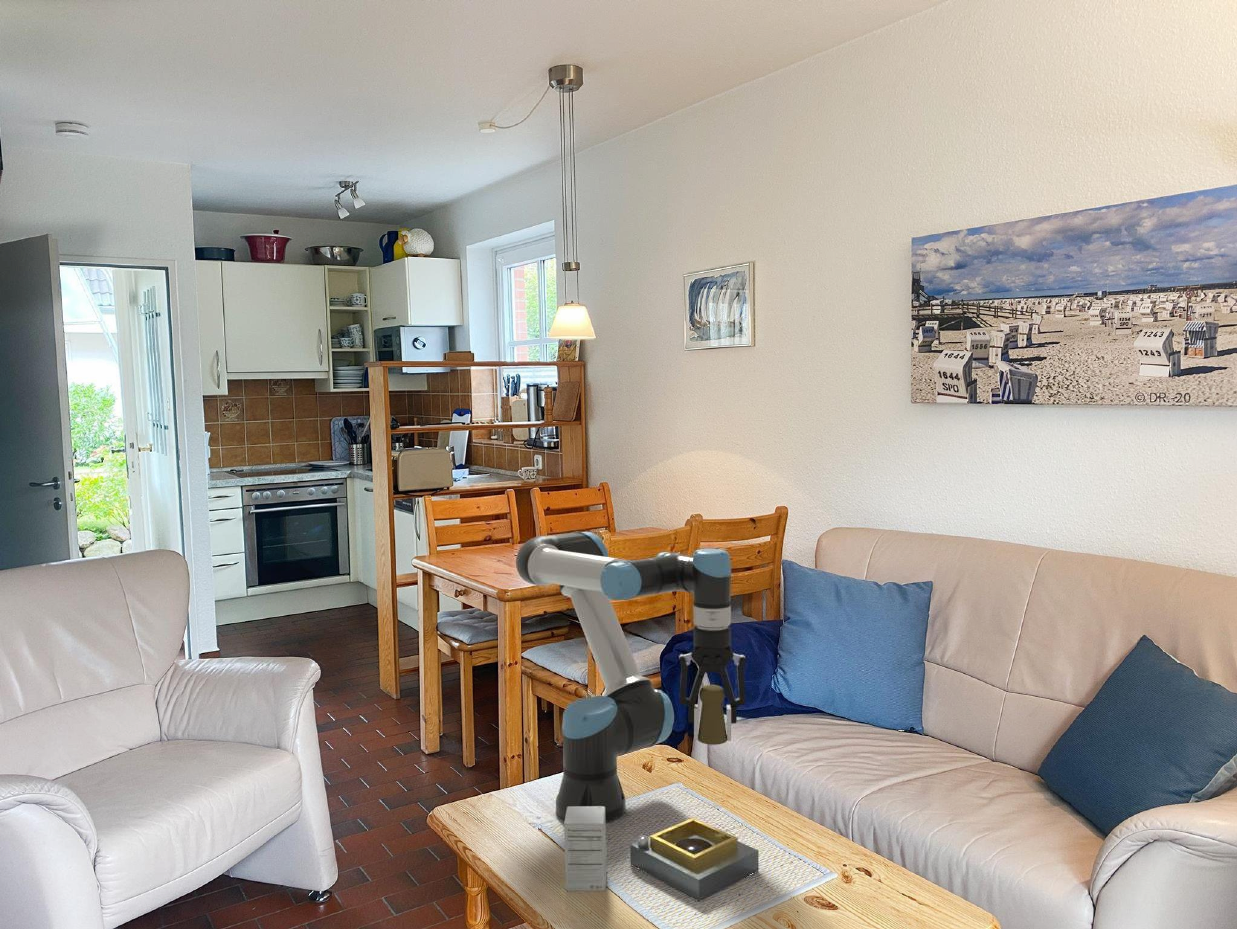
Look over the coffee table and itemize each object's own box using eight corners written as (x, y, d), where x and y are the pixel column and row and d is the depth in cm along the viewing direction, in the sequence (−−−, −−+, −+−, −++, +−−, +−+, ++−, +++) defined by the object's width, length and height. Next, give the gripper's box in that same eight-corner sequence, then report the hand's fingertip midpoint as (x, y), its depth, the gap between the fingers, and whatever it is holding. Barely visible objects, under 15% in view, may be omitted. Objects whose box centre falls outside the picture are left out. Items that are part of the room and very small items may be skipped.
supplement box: (567, 871, 172) (566, 805, 172) (607, 871, 172) (606, 805, 171) (564, 891, 165) (563, 822, 164) (605, 891, 165) (604, 822, 164)
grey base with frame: (630, 864, 174) (630, 833, 174) (689, 838, 185) (689, 809, 185) (699, 902, 161) (698, 868, 161) (758, 871, 171) (758, 839, 171)
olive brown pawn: (726, 745, 184) (725, 691, 183) (695, 743, 185) (695, 690, 184) (728, 734, 190) (728, 682, 189) (699, 733, 191) (699, 681, 190)
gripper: (665, 630, 183) (665, 744, 184) (760, 630, 181) (760, 745, 183) (665, 621, 190) (666, 731, 192) (757, 622, 189) (757, 732, 190)
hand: (712, 737), depth 187 cm, fingers closed on olive brown pawn, 6 cm apart
